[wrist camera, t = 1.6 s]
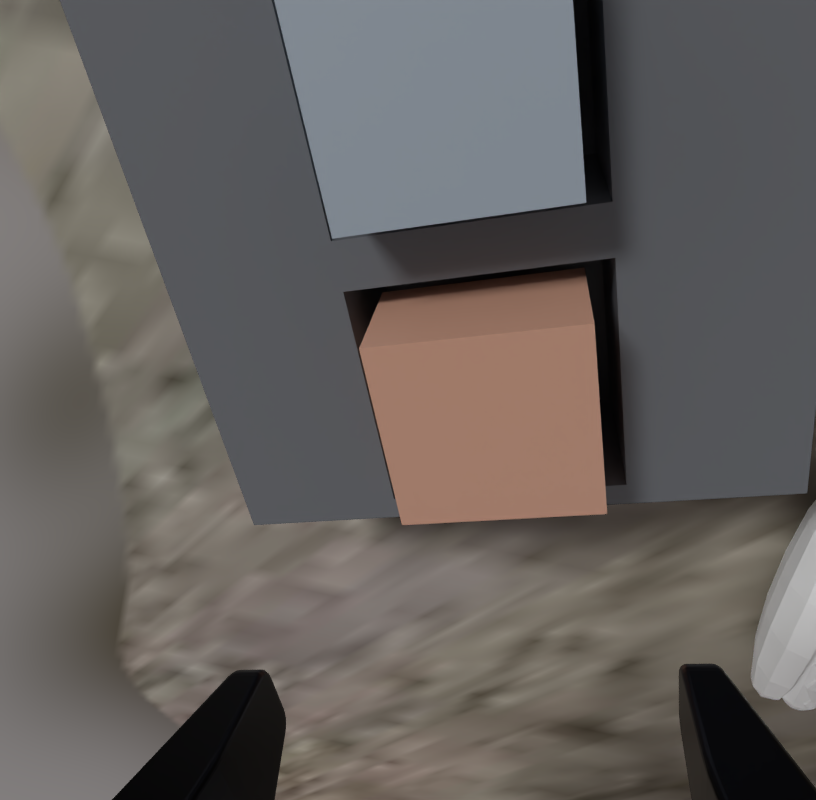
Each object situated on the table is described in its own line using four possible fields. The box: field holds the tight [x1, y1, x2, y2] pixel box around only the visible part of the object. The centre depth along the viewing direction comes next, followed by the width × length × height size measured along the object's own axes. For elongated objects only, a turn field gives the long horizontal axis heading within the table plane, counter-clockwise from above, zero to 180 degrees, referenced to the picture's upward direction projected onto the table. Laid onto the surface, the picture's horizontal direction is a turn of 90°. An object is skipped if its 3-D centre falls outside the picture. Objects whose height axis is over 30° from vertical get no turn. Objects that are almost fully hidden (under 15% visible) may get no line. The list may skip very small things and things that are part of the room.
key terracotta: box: [359, 268, 607, 525], centre depth 15 cm, size 4×4×2 cm
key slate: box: [274, 0, 586, 239], centre depth 12 cm, size 4×4×2 cm
